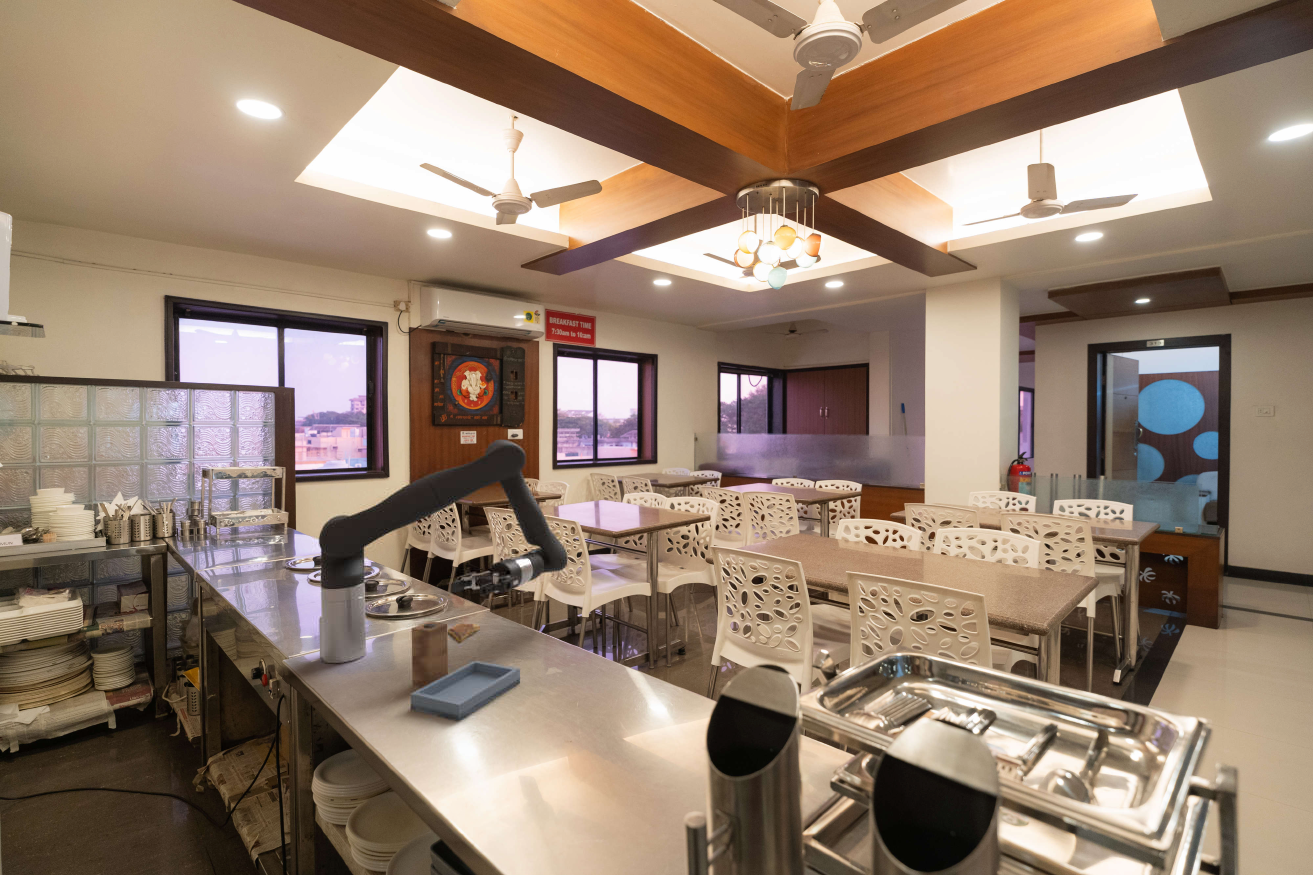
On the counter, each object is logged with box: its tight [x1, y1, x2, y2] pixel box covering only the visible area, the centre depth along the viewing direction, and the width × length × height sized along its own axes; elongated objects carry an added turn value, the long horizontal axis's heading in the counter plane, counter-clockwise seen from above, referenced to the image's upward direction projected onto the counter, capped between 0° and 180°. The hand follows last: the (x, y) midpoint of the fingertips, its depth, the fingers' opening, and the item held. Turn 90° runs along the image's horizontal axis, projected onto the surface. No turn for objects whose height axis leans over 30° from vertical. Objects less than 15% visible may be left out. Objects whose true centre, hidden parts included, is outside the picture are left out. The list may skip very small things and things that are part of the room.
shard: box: [447, 622, 482, 643], centre depth 158 cm, size 11×8×2 cm
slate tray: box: [410, 660, 521, 722], centre depth 122 cm, size 12×18×3 cm, turn 156°
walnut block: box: [411, 620, 449, 688], centre depth 129 cm, size 5×5×12 cm
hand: (466, 589), depth 139 cm, fingers open, 8 cm apart
